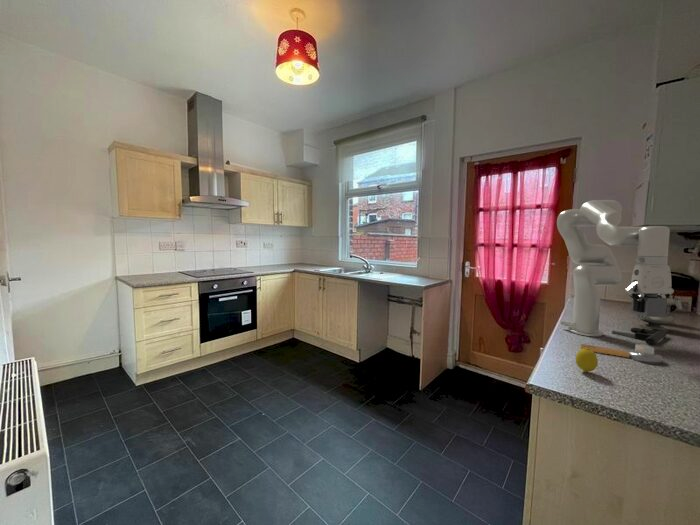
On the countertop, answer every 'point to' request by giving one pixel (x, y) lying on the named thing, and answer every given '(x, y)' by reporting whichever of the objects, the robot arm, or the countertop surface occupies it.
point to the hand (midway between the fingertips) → (647, 311)
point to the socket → (652, 306)
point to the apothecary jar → (658, 319)
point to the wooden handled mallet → (630, 353)
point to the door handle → (644, 335)
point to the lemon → (586, 360)
